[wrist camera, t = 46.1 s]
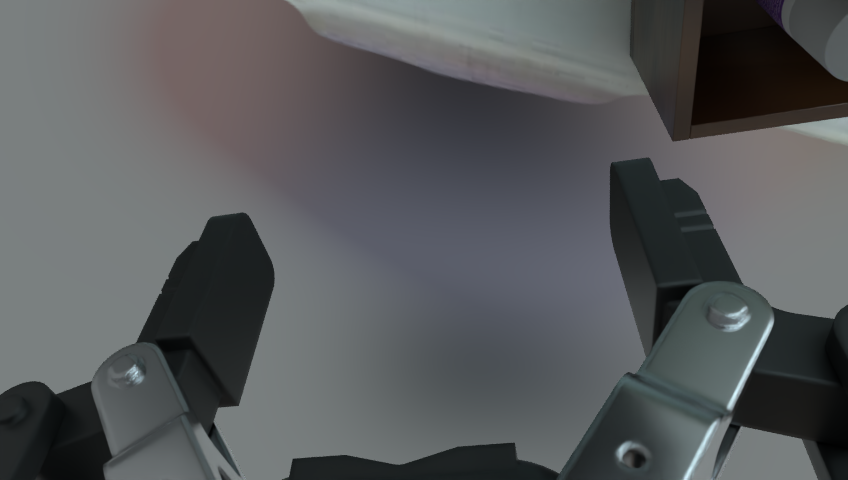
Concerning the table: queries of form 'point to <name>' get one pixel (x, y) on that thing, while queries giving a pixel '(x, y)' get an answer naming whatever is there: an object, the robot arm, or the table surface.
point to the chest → (727, 69)
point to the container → (816, 29)
